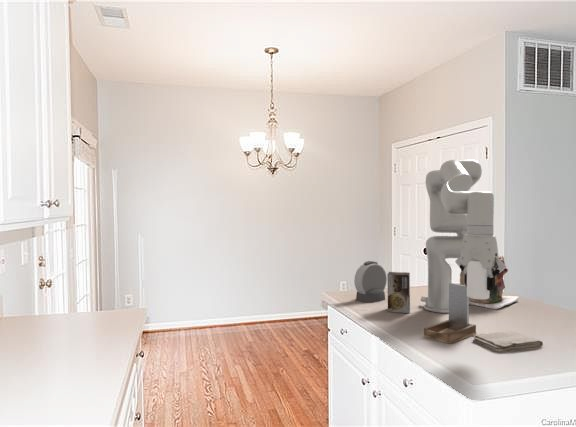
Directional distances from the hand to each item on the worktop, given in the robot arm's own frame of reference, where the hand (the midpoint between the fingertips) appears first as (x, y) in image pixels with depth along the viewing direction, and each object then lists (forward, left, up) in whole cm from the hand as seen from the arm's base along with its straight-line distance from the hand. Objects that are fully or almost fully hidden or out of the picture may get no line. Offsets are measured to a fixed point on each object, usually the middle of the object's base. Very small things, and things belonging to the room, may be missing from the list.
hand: (479, 287), depth 130 cm
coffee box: (-44, +19, -19) cm, 51 cm away
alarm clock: (-65, +26, -19) cm, 72 cm away
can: (0, -1, -3) cm, 3 cm away
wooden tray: (-13, +5, -19) cm, 24 cm away
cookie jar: (-29, +64, -20) cm, 73 cm away
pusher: (-13, +11, -18) cm, 25 cm away
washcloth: (+4, +11, -20) cm, 23 cm away
